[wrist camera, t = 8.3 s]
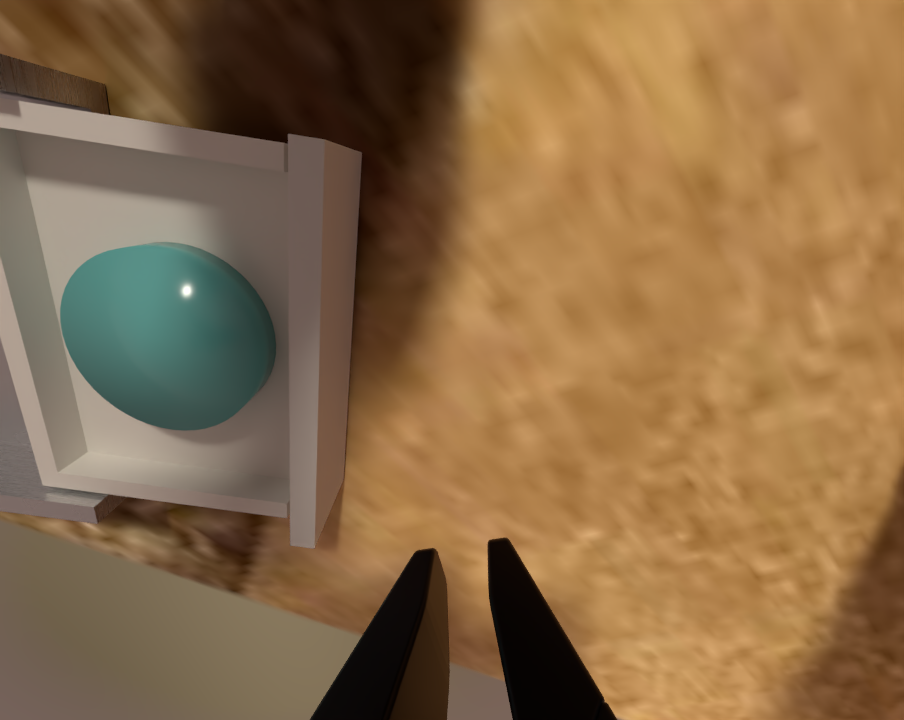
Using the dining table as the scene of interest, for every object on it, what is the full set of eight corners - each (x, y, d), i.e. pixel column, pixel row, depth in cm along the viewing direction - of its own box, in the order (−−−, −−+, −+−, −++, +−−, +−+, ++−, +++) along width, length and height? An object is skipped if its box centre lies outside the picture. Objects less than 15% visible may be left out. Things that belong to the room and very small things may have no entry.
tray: (361, 152, 15) (324, 139, 11) (343, 479, 21) (314, 548, 17) (32, 100, 15) (-129, 67, 11) (104, 446, 21) (15, 509, 17)
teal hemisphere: (80, 228, 15) (38, 232, 14) (274, 256, 15) (253, 263, 14) (113, 398, 18) (81, 417, 16) (278, 420, 18) (261, 441, 16)
